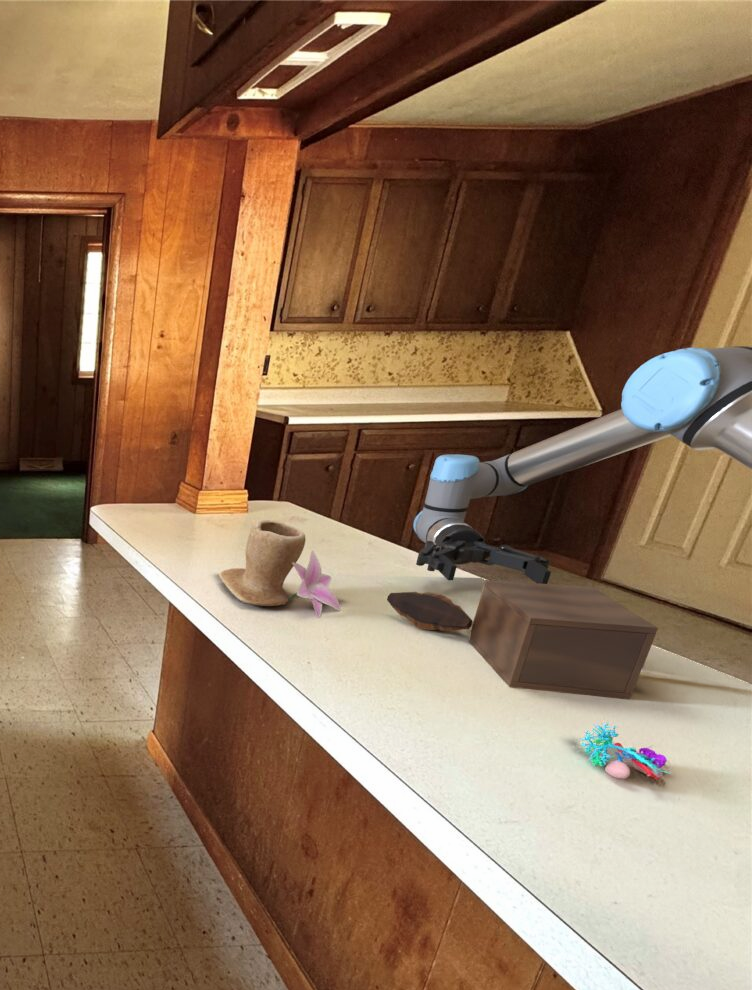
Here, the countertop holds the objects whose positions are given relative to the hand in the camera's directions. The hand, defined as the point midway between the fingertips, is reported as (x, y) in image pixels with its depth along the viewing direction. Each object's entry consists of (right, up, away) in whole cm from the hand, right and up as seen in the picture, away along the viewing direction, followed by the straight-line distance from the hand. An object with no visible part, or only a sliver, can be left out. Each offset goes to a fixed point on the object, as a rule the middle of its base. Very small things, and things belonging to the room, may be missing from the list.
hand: (498, 576), depth 115 cm
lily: (-29, -6, +8) cm, 30 cm away
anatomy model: (-18, -24, -39) cm, 49 cm away
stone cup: (-35, -4, +15) cm, 38 cm away
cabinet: (-6, -14, -16) cm, 22 cm away
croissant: (-15, -5, -3) cm, 16 cm away
